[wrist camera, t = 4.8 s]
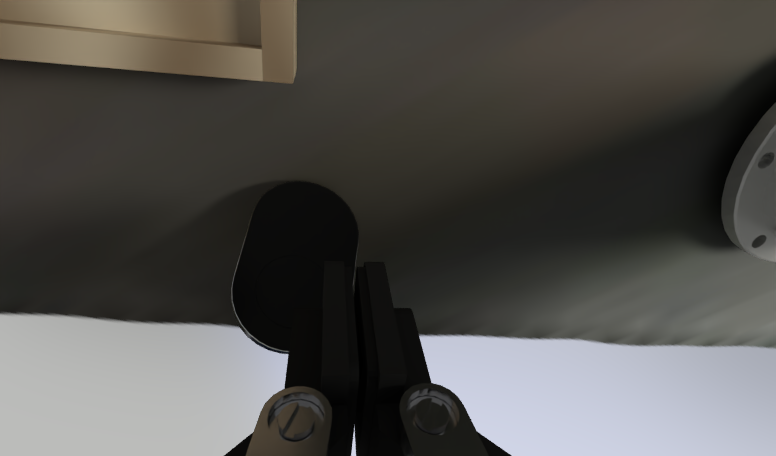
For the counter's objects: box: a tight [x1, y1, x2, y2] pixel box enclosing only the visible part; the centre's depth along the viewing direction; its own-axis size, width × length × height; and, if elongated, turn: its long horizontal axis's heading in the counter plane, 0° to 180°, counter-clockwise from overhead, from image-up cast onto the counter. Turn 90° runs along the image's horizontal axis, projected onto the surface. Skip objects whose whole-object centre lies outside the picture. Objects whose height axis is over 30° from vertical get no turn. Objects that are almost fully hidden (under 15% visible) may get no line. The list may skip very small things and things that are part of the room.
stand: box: [230, 181, 359, 354], centre depth 21 cm, size 8×5×8 cm
